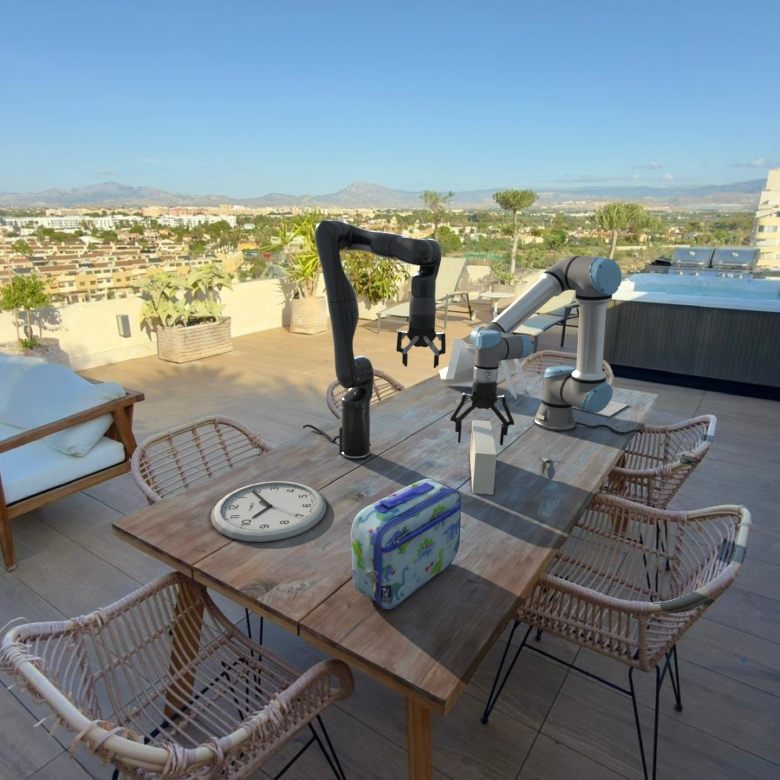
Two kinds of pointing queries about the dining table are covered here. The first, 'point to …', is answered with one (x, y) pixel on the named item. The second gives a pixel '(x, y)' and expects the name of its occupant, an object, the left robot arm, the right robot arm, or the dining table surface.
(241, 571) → the dining table surface
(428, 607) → the dining table surface
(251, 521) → the wall clock
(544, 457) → the fork
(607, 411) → the invitation card
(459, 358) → the white plastic object
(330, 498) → the dining table surface
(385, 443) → the dining table surface
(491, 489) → the box
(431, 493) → the lunch box
